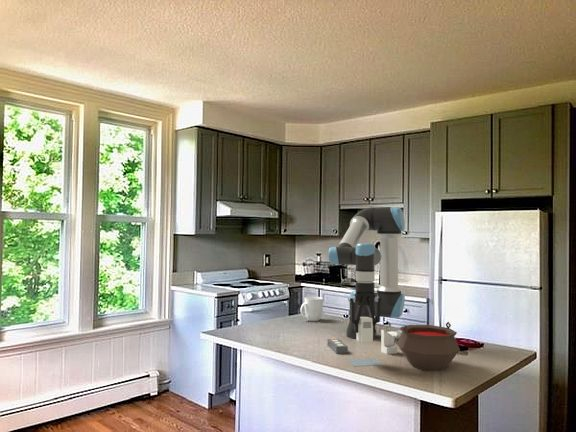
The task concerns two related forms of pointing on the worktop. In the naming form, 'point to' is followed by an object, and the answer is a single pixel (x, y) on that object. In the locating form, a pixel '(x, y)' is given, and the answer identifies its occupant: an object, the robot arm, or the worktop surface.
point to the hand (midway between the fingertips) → (364, 340)
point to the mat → (364, 362)
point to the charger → (366, 329)
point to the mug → (312, 308)
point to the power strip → (337, 346)
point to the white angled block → (387, 343)
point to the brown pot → (428, 346)
